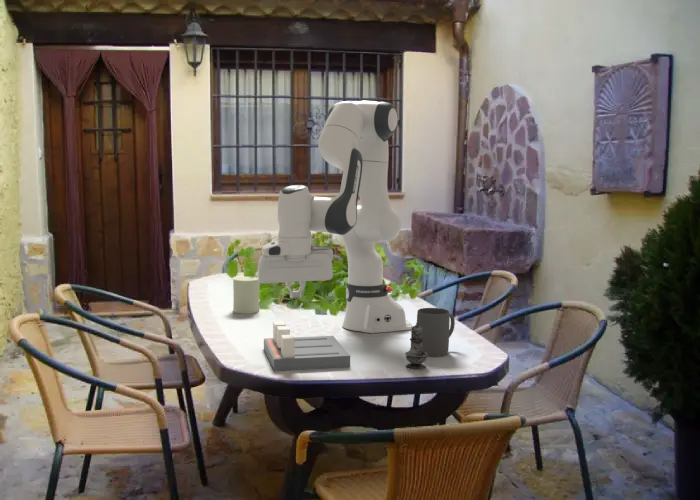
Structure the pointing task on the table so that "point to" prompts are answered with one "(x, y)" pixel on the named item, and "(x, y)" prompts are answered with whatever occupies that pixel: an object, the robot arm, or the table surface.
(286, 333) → the handle
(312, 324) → the table surface
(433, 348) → the mug
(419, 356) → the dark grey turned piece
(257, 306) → the can
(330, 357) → the breaker panel
